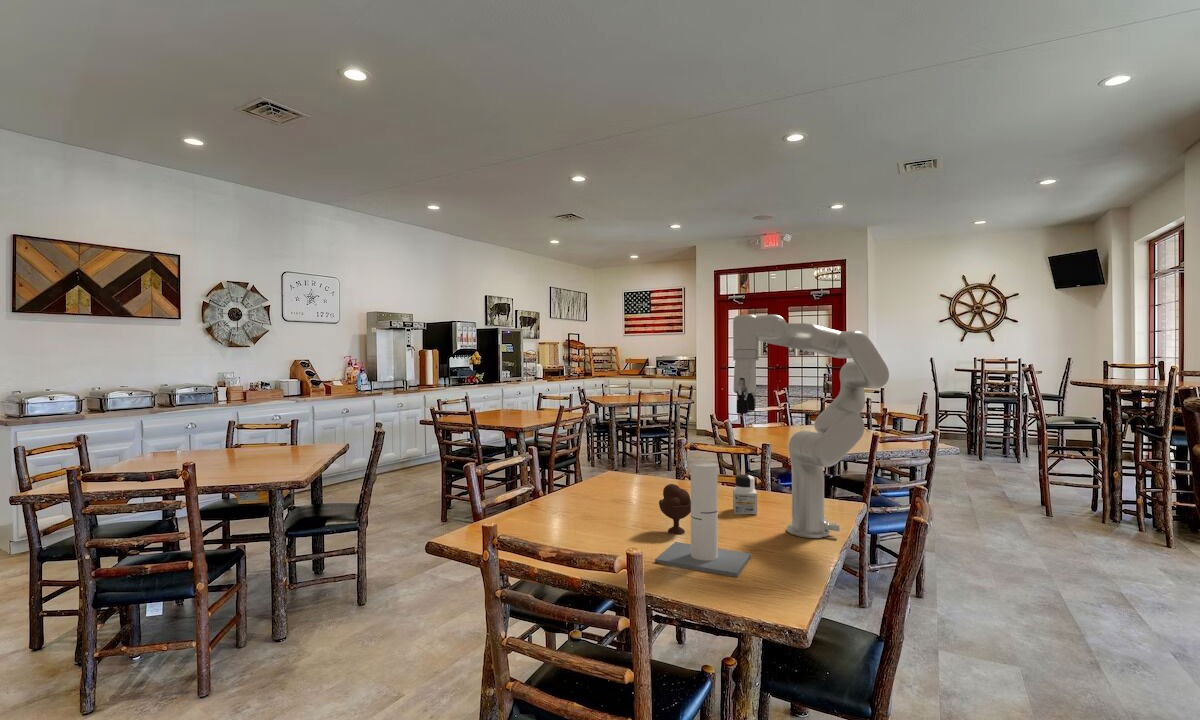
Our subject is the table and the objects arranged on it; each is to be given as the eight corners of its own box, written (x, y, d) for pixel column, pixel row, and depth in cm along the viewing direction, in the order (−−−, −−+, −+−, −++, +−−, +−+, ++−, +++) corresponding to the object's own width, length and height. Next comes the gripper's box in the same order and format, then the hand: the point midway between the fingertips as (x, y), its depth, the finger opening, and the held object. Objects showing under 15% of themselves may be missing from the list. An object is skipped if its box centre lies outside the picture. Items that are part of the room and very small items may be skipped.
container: (734, 514, 197) (734, 477, 197) (733, 508, 205) (733, 472, 205) (757, 515, 196) (757, 478, 196) (755, 509, 203) (754, 473, 203)
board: (751, 557, 155) (751, 553, 155) (737, 577, 141) (737, 573, 141) (675, 545, 165) (675, 541, 165) (655, 562, 151) (655, 559, 151)
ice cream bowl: (670, 539, 170) (670, 489, 170) (652, 529, 180) (652, 482, 180) (700, 534, 174) (700, 486, 174) (681, 525, 185) (681, 479, 185)
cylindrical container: (717, 561, 149) (717, 466, 149) (690, 559, 150) (690, 465, 150) (717, 552, 156) (717, 462, 156) (691, 550, 157) (691, 461, 157)
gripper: (740, 356, 181) (740, 409, 181) (726, 355, 165) (726, 414, 165) (764, 355, 177) (764, 410, 177) (752, 355, 162) (752, 415, 162)
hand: (745, 412), depth 171 cm, fingers open, 9 cm apart
